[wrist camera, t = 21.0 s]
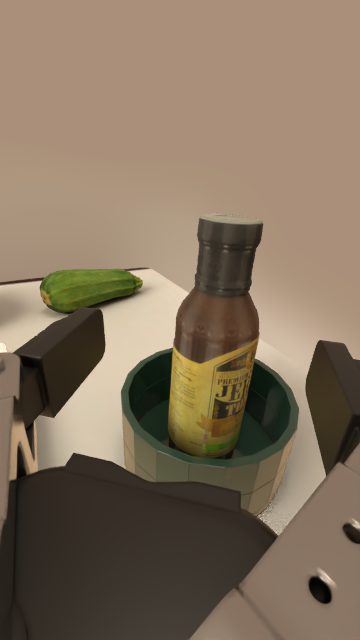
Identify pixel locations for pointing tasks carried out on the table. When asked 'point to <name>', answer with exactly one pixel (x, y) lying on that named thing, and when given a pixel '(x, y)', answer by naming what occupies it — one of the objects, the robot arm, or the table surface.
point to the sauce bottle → (215, 340)
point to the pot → (174, 466)
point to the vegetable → (86, 287)
